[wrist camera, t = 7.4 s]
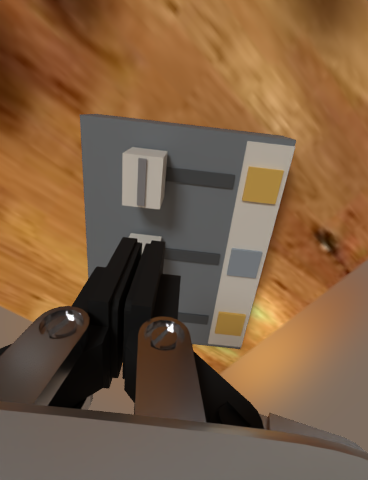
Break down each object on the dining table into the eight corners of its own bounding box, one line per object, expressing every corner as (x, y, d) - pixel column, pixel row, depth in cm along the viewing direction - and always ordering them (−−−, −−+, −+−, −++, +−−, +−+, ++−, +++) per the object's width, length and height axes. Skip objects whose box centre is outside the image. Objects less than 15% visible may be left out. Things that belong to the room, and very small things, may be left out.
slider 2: (161, 236, 27) (156, 254, 23) (158, 271, 28) (154, 293, 25) (130, 232, 27) (121, 250, 23) (129, 268, 28) (121, 289, 25)
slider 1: (167, 151, 23) (163, 158, 20) (164, 196, 25) (159, 210, 22) (132, 147, 23) (121, 153, 20) (131, 192, 25) (121, 206, 22)
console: (282, 135, 26) (298, 140, 22) (235, 325, 37) (240, 352, 33) (95, 113, 26) (77, 114, 22) (101, 311, 37) (90, 336, 33)
